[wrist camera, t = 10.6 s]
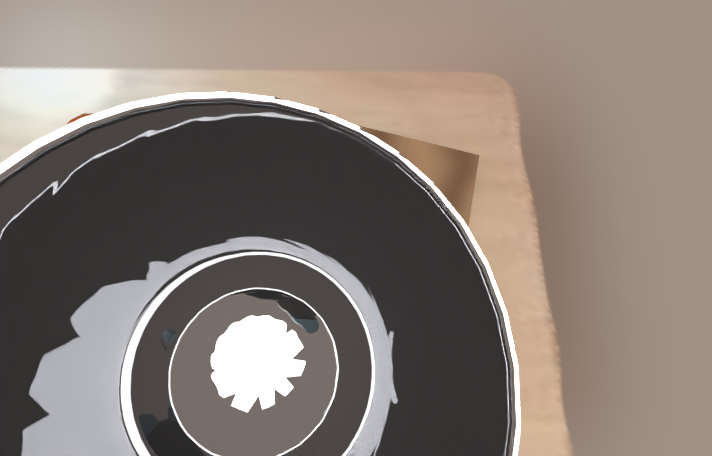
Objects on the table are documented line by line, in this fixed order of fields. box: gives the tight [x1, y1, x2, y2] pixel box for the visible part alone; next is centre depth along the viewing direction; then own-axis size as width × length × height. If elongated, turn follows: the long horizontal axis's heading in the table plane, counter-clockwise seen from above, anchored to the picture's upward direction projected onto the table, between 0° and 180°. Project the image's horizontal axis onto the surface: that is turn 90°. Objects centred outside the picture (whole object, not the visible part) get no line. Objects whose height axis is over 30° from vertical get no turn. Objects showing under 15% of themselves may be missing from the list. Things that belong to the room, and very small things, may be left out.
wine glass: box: [0, 92, 521, 456], centre depth 12 cm, size 8×8×15 cm
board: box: [356, 125, 479, 227], centre depth 38 cm, size 20×11×1 cm, turn 77°
